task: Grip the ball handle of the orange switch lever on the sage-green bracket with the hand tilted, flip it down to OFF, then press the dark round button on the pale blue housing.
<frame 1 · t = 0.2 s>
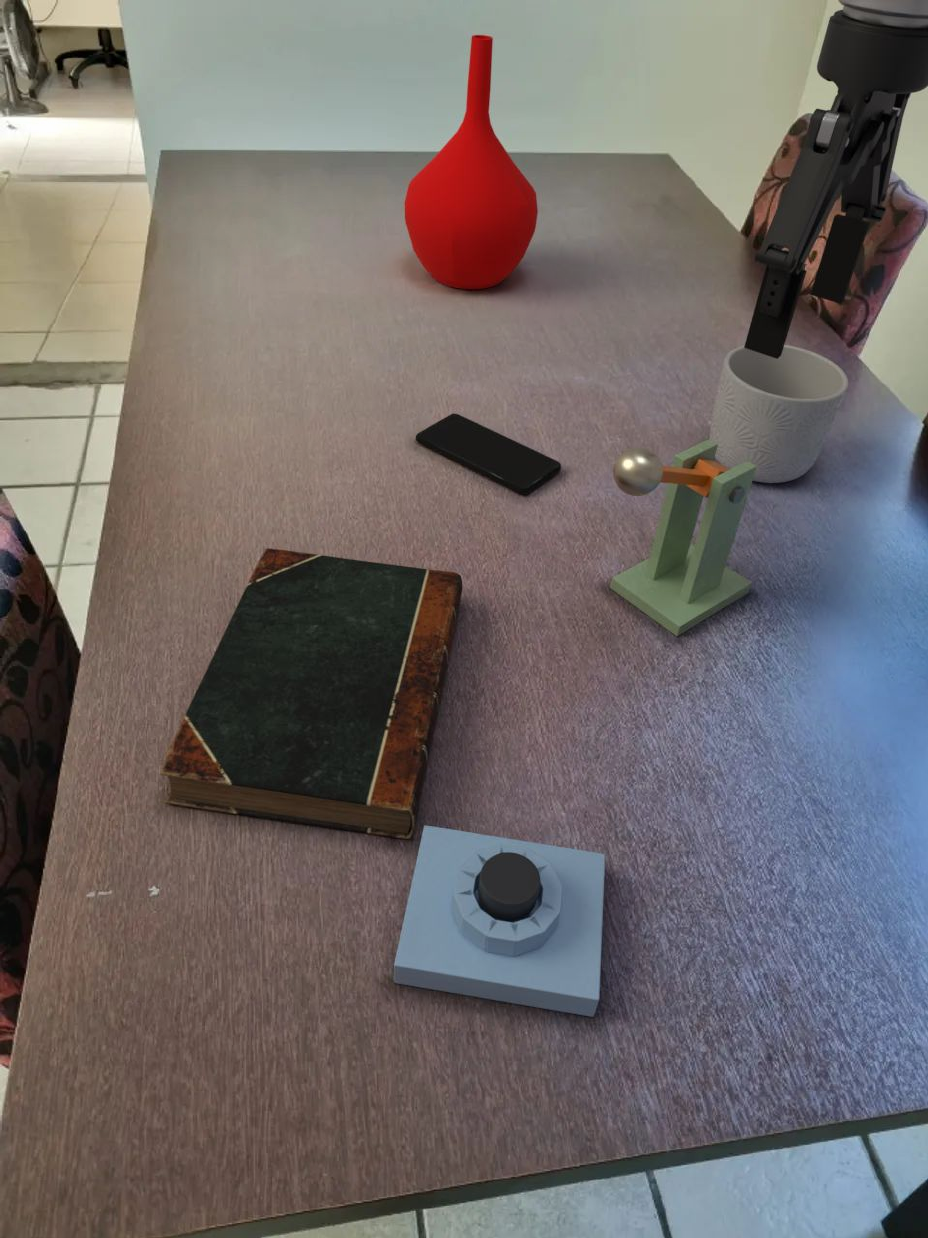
hand: (796, 323, 76), 22 cm above the table, tool pointing down, fingers open, 13 cm apart
smartphone: (486, 457, 100), on the table
button housing: (502, 924, 59), on the table
switch bracket: (679, 590, 85), on the table
button: (509, 885, 56), point 4 cm above the table, slide at 0.1 cm
planter: (756, 463, 102), on the table
book: (331, 693, 73), on the table
switch lever: (674, 475, 73), point 14 cm above the table, hinge at 24.0°
vase: (466, 277, 135), on the table
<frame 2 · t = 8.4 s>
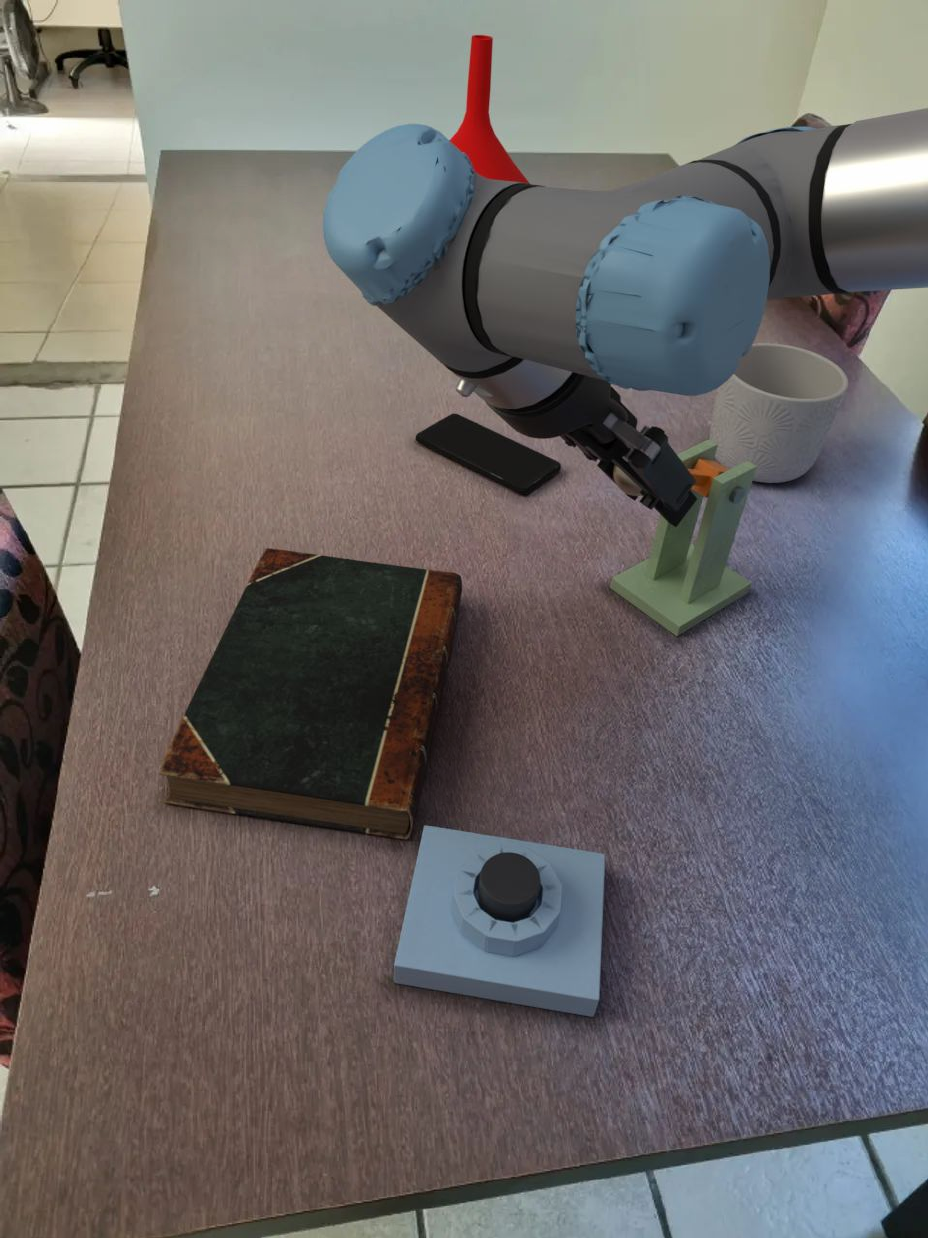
hand: (661, 497, 74), 13 cm above the table, tool tilted 45°, fingers closed on switch lever, 4 cm apart
switch lever: (674, 475, 73), point 14 cm above the table, hinge at 24.0°, touching gripper
everything else where it was.
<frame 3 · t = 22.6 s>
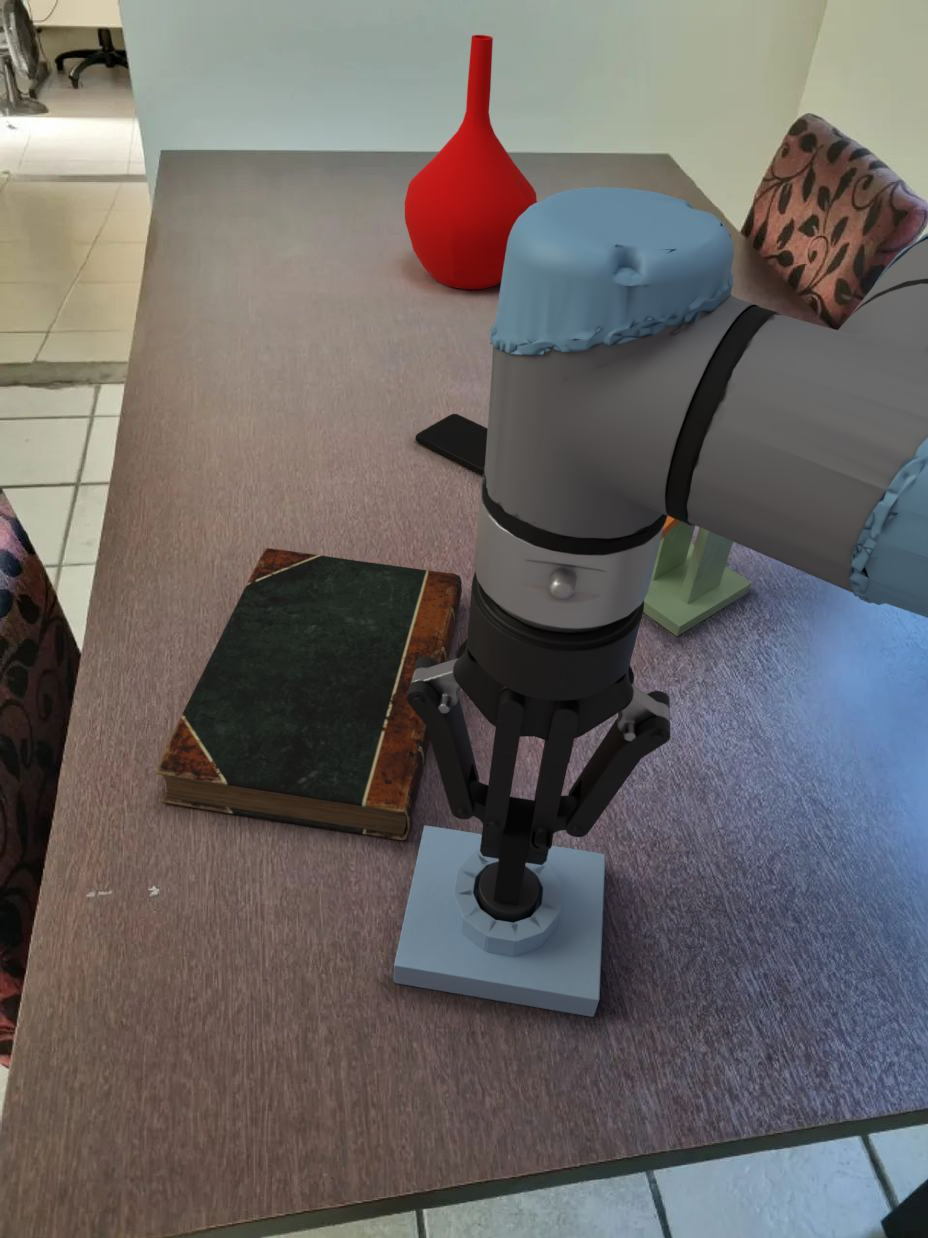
hand: (508, 882, 56), 5 cm above the table, tool pointing down, fingers closed
button: (507, 893, 57), point 4 cm above the table, slide at -0.8 cm, touching gripper
switch lever: (663, 525, 76), point 9 cm above the table, hinge at -27.1°
everything else where it was.
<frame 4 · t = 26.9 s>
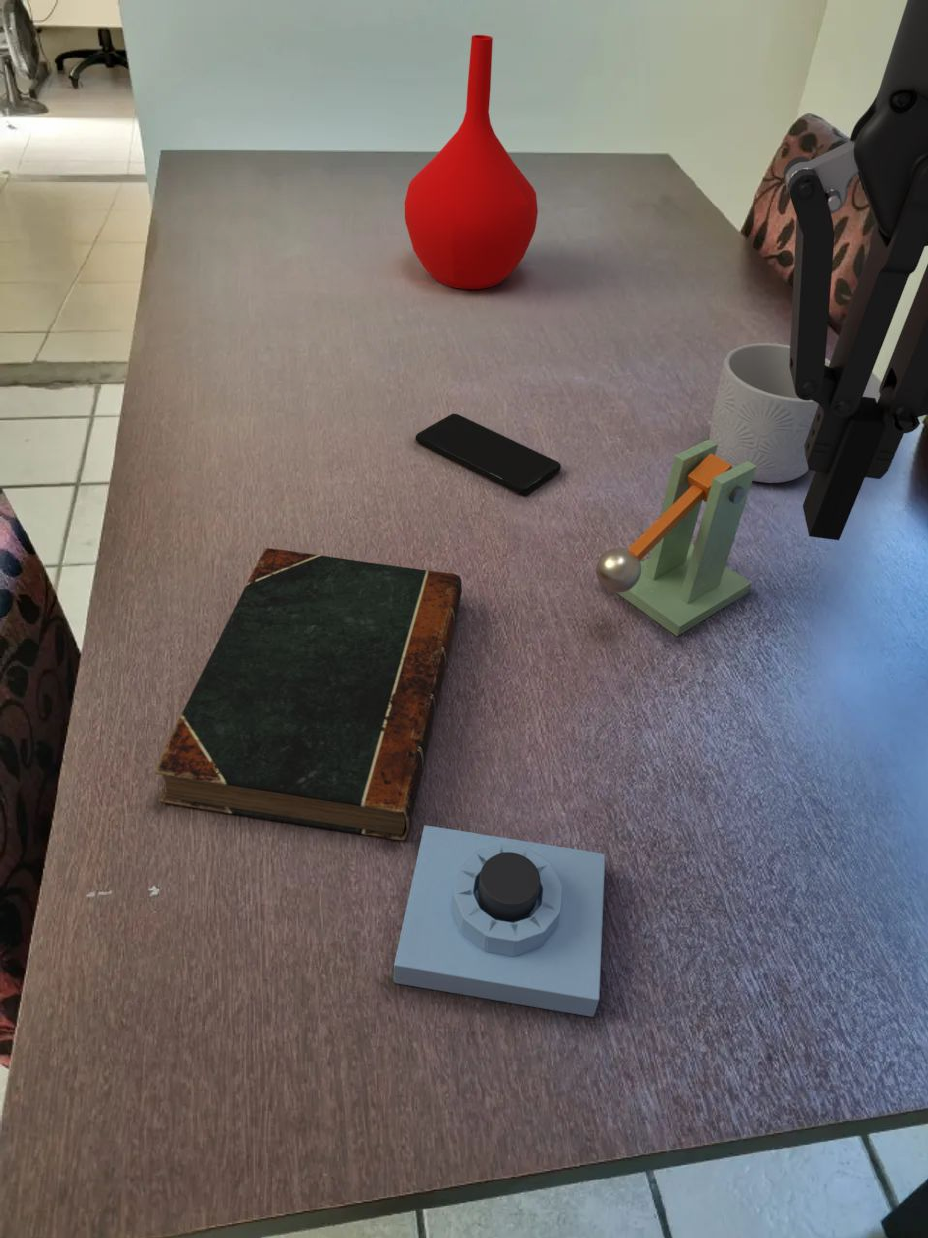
hand: (820, 522, 48), 26 cm above the table, tool pointing down, fingers closed
button: (509, 885, 56), point 4 cm above the table, slide at 0.1 cm
everything else where it was.
at the end: switch lever at -27° (first picture: +24°); button pushed in 1.0 cm at the most during the clip, back to where it started at the end; button slide at 0.1 cm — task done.
